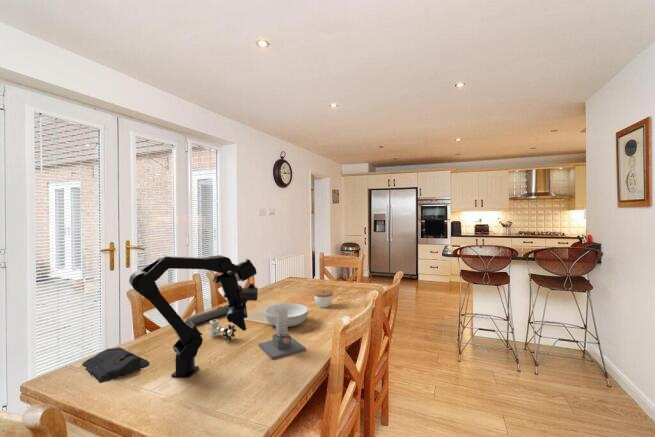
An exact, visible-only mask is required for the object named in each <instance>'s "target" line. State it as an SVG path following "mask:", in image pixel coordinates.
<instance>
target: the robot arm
mask: <svg viewBox="0 0 655 437" xmlns="http://www.w3.org/2000/svg"><path fill="white" fill-rule="evenodd" d="M169 269H173V270H174V269H175V270H177V269H178V270H181V269H182V270H206V271H211V272H214V273H220V274H214V277H213V279H212V283H215V284H218V283H219V284H220V286H221V288H222V292H223V293H224V294H223V298H225V299H226V301H227V304H228V307H235V308H232V309H230V310H229V311H228V313H227V314H226V320H227V322H228V323H231V324H233V325H236V326H237V328H239V329H240V330H242V331H243V332H244V331H247V326H246V320H245V319H247V318H248V311H247V302H249V301H253V302H255V301H258V291H259V289H258V287H257V286H256V285H255V284H254V283H249V284H248V285H247V286H246V287H244V288H243V286H242V285H241V284H239V281H241V282H245V281H246V280H247V281H248V280H249V279H251V278H252V277H254V276H256V275H257V269H256V266H254V264H253V263H252V262H251V260H250V259H248V258H246V259H244V260H242V261H241V262H239V263H237V264H235V263H233V262H232V260H231V259H230V257H227V256H224V255H212V256H211V255H210V256H206V257H193V256H192V257H191V256H190V257H189V256H188V257H187V256H171V255H170V256H168V255H162V256H159V258H158V259H155V260H154V261H153V262H151V263H149V264H148V265H146V266H145V267H144V268H142V269H141V270H136V271H135V272H133V273H132V274H130V276H129V280H128V282H129V284H130V286H131V287H132V289H133V290H135V291H136V292H137V293H138V294H140V295H141V296H142V297H143V298H144V299H146V300H148V301H149V302H150V303H151V304H152V305H153V307H154V308H155V309H156V310H157V311H158V313H160V315H161V316H162V317H163V318H164V319H165V320H166V321H167V323H168V324H169V325H170V326H171V327H172V329H173V330H174V332H175V334H176V336H177V339H178V340H177V341H176V342H175V343H174V344H173V346H172V349H173V351H174V353H175V354H176V355H175V370H174V371H173V373H171V375H170V376H171V377H172V378H173V377H175V378H179V377H180V378H191V377H192V376H193V375H194V374H195V372H197V371H198V369H200V366H198V365H195V364H196V363H195V362H196V361H195V359H196V358H195V357H197V354H198V351H199V348H201V346H202V345H203V341H204V338H203V337H202V335H203V333H202V332H201V331H200V330H199V329H198V328H197V325H196V324H193V323H192V322H191V321H190V322H189V323H188V324H186V323H185V321H184V320H183V318H181V316H180V315H179V314H178V312H177V311H176V310H175V309H174V308H173V307H172V306H171V304H170V303H169V302H168V301H167V299H166V298H165V297H164V296H163V294H161V292H160V289H159V288H158V285H157V283H156V282H157V281H158V280H159V279H160V278H161V277H162V276H163V275H164V273H166V272H167V271H168V270H169ZM236 326H235V327H236Z"/></svg>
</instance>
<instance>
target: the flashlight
mask: <svg viewBox="0 0 655 437" xmlns="http://www.w3.org/2000/svg"><path fill="white" fill-rule="evenodd" d="M232 308H235V307H228V303H227V304H225V305H224V306H222V305H221V306H218V307H216V308H214V309H210V310H208V311H204V312H201V313H198V314H195V315H192V316H189V317H186V318H185V321H184V322H185V323H186V324H188V323H189V322H190V321H191V322H192V323H193V324H194V325H197V324H200V323H202V322H205V321H208V320H209V321H210V320H213V319H214V318H218V317H221V316H223V315H227V313H228V311H229V310H230V309H232Z"/></svg>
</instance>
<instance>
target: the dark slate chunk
mask: <svg viewBox="0 0 655 437" xmlns="http://www.w3.org/2000/svg"><path fill="white" fill-rule="evenodd" d="M82 365H83V366H84V367H86V369H85V371H86V372H87V371H88V372H89V373H90V374H89V373H88V372H87V373H88V374H89V375H90V376H92V375H93V376H94V377H95V378H96V379H97V380H98V381H99V382H98V381H97V380H96V379H95V378H94V377H93V376H92V377H93V378H94V379H95V380H96V381H97V382H98V383H102V381H103V382H106V381H108V382H111V381H113V380H116V379H118V378H122V377H124V376H127V375H131V374H132V373H133V374H134V373H136V372H137V371H139V370H141V369H143V368H145V367H146V366H149V365H150V362H149V361H148V360H147V359H145V358H143V357H140V356H138V355H136V354H135V353H133V352H131V351H128V350H126V349H124V348H122V347H119V346H118V347H113V348H106V349H104V350H102V351H100V352H99V353H97V354H96V355H95V356H92V357H90V358H88V359H87V360H85V361H83V362H82V363H81V366H82ZM121 376H122V377H121ZM112 379H113V380H112ZM110 380H111V381H110Z"/></svg>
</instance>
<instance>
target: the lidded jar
mask: <svg viewBox="0 0 655 437" xmlns="http://www.w3.org/2000/svg"><path fill="white" fill-rule="evenodd" d="M313 293H314V294H313V295H314V296H313V297H314V303H315V304H316V306H317V307H319V308H320V309H321V308H325V309H326V308H329V306H330V305H331V304H332V302H333V296H334V292H333V291H331V290H326V289H322V290H316V291H314V292H313Z"/></svg>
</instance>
